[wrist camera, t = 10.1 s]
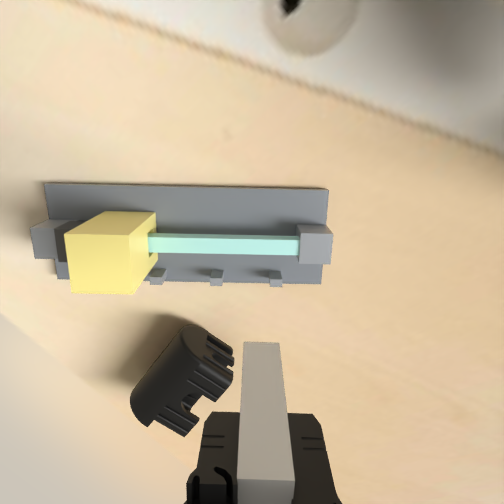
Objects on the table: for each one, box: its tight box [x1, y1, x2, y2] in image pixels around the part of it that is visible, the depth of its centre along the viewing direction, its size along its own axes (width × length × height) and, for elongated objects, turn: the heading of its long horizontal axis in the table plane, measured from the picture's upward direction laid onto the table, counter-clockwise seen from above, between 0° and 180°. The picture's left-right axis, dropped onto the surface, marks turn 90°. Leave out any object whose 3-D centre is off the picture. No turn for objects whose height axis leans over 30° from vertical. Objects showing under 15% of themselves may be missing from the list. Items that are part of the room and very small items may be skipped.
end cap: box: [130, 325, 234, 437], centre depth 41 cm, size 10×7×7 cm
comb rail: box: [30, 183, 333, 287], centre depth 37 cm, size 10×28×5 cm, turn 89°
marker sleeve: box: [64, 211, 158, 294], centre depth 34 cm, size 5×5×9 cm
